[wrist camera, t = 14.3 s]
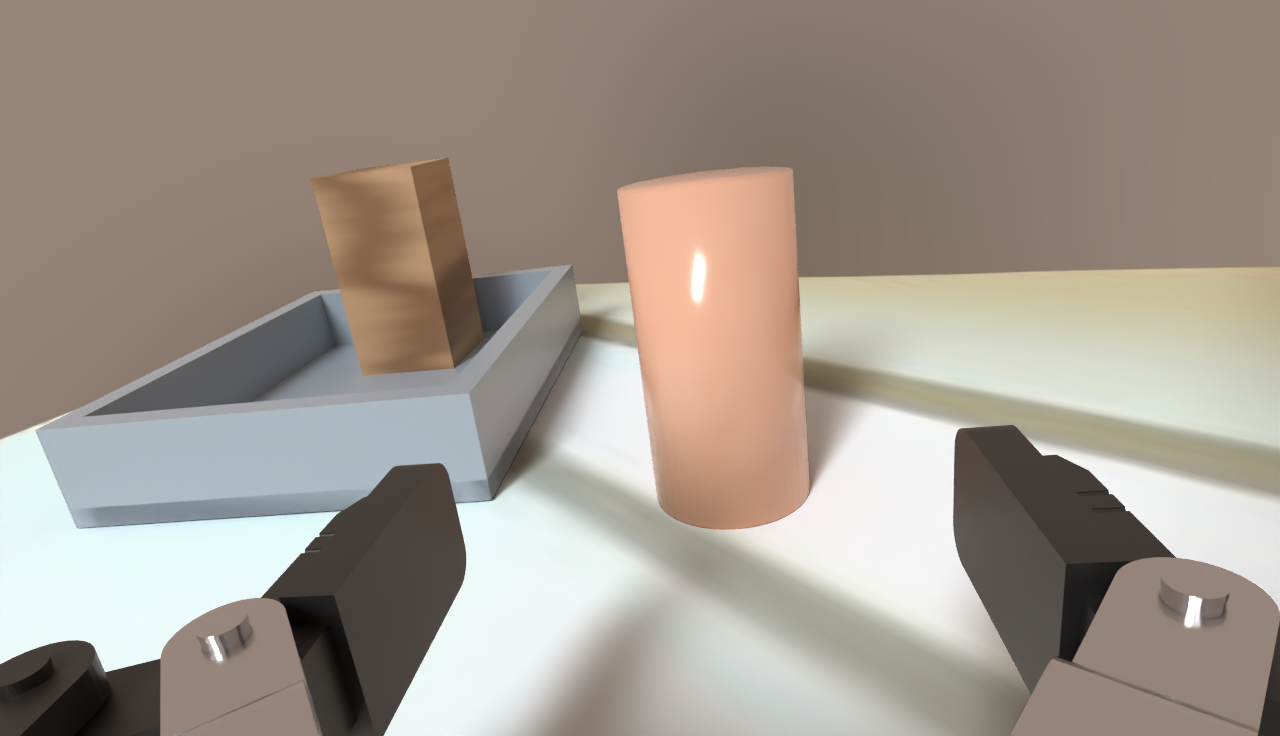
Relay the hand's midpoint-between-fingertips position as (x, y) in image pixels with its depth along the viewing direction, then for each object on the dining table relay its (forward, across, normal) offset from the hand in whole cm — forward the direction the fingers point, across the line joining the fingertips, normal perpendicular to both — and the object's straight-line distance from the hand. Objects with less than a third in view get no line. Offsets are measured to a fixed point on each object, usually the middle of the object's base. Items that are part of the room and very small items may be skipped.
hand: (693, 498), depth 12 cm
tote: (+22, +16, +6) cm, 28 cm away
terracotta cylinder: (+12, 0, +6) cm, 13 cm away
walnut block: (+27, +16, +5) cm, 32 cm away
